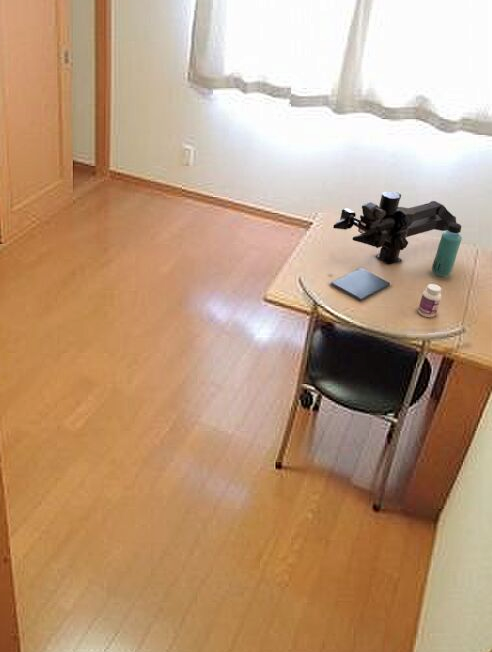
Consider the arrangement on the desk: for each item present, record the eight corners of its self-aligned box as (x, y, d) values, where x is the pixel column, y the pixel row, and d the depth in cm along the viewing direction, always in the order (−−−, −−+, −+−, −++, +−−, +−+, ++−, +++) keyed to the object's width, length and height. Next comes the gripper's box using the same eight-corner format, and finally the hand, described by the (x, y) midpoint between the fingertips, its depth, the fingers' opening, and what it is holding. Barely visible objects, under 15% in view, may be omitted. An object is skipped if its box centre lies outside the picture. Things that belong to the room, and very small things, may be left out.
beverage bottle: (452, 275, 226) (469, 224, 215) (445, 282, 221) (462, 231, 211) (434, 268, 229) (449, 217, 219) (426, 275, 225) (441, 224, 215)
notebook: (360, 270, 227) (360, 267, 226) (389, 286, 219) (390, 283, 218) (330, 285, 218) (331, 282, 218) (360, 301, 210) (361, 298, 210)
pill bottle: (433, 319, 203) (441, 294, 198) (415, 314, 205) (423, 288, 200) (436, 311, 207) (445, 286, 202) (419, 306, 209) (427, 280, 204)
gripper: (363, 191, 225) (328, 199, 218) (404, 213, 211) (368, 223, 204) (356, 219, 230) (322, 228, 224) (396, 243, 216) (361, 253, 210)
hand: (343, 232), depth 215 cm, fingers open, 9 cm apart
